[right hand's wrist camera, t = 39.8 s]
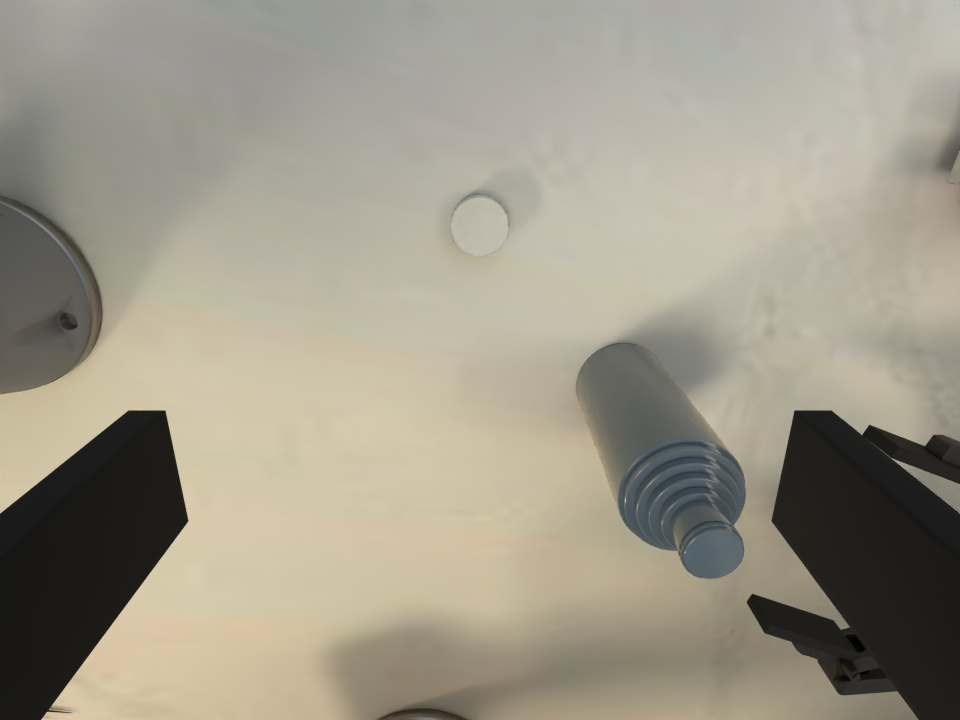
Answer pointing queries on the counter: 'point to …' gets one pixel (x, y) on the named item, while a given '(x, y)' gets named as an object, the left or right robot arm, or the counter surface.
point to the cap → (479, 225)
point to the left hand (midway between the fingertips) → (814, 531)
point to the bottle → (663, 460)
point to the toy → (955, 172)
